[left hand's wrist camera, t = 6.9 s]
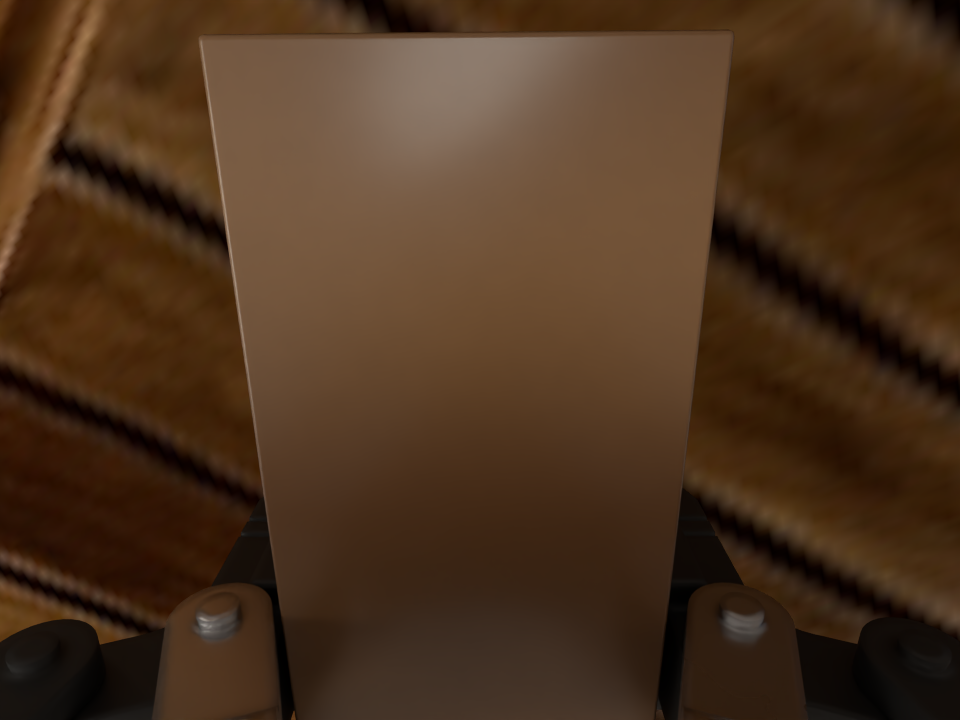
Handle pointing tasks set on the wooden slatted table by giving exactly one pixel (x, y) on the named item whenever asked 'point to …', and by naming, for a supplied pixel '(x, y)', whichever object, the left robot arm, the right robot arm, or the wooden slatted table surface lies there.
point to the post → (470, 353)
